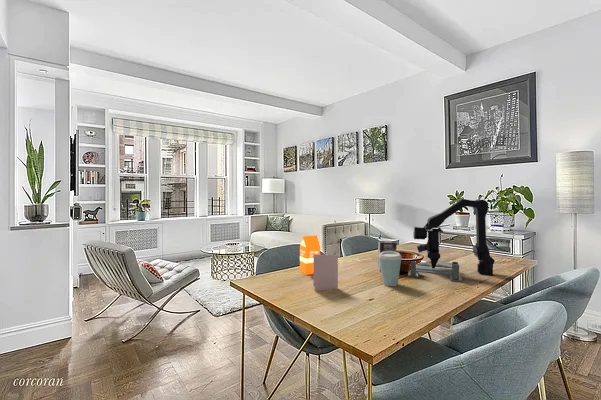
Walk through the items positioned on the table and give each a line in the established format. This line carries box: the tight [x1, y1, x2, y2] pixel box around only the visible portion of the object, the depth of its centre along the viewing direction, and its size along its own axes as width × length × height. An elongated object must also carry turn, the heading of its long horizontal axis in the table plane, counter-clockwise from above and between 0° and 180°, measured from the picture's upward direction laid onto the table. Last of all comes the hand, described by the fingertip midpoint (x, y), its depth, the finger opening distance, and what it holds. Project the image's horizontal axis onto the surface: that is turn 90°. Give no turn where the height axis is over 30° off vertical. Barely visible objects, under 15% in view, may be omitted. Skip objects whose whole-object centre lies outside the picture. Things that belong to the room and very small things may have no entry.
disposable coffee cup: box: [377, 251, 402, 287], centre depth 145 cm, size 11×11×15 cm
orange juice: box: [299, 234, 321, 275], centre depth 167 cm, size 8×9×20 cm
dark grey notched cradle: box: [407, 261, 463, 283], centre depth 157 cm, size 25×9×8 cm, turn 68°
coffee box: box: [377, 240, 398, 272], centre depth 171 cm, size 9×6×16 cm
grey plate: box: [416, 266, 452, 276], centre depth 169 cm, size 24×11×1 cm, turn 68°
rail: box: [416, 260, 452, 269], centre depth 169 cm, size 24×3×3 cm, turn 68°
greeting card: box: [313, 254, 339, 292], centre depth 138 cm, size 11×7×15 cm, turn 74°
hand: (433, 267), depth 169 cm, fingers closed on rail, 3 cm apart
